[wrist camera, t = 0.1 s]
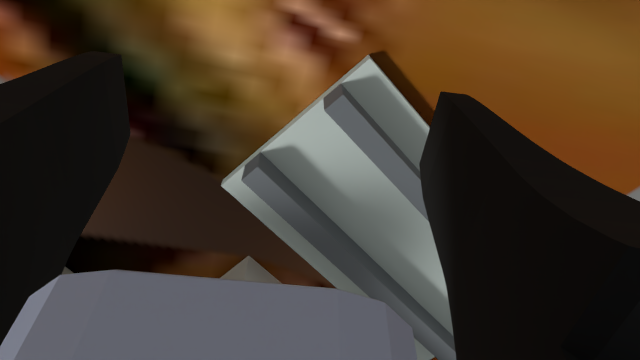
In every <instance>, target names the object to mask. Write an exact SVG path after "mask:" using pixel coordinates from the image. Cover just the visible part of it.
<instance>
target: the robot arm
mask: <svg viewBox="0 0 640 360" xmlns="http://www.w3.org/2000/svg"><path fill="white" fill-rule="evenodd" d="M129 137H130V125H129V117H128V109H127V100H126V92H125V84H124V75H123V67H122V58H121V55H120V54H111V53H103V52H94V51H92V52H87V53H83V54H80V55H77V56H74V57H71V58H68V59H65V60H63V61H60V62H58V63H55V64H52V65H50V66H47V67H45V68H42V69H40V70H37V71H34V72H32V73H29V74H27V75H24V76H22V77H19V78H16V79H13V80H11V81H8V82H5V83H2V84H0V360H417V354H416V348H415V342H414V336H413V330H412V327H411V326H410V325H408V324H407V323H406V322H405V321H404V320H403V319H402V318H401V317H400V316H399V315H398V314H397V313H396V312H394V311H393V310H392V309H391V308H390V307H389V306H388V305H387V304H386V303H384V302H382V301H379V300H376V299H372V298H369V297H365V296H361V295H358V294H354V293H351V292H347V291H343V290H340V289H336V288H324V287H313V286H301V285H290V284H278V283H267V282H255V281H244V280H232V279H221V278H209V277H197V276H186V275H174V274H163V273H151V272H140V271H128V270H117V269H115V270H105V271H94V272H84V273H74V274H64V275H62V272H63V270H64V268H65V265H66V263H67V260H68V258H69V256H70V254H71V252H72V250H73V248H74V246H75V244H76V242H77V240H78V238H79V236H80V235H81V233H82V231H83V229H84V228H85V226H86V224H87V222H88V221H89V219H90V217H91V215H92V214H93V212H94V210H95V208H96V207H97V205H98V203H99V201H100V200H101V198H102V196H103V194H104V193H105V191H106V189H107V187H108V185H109V183H110V182H111V180H112V178H113V176H114V174H115V173H116V171H117V169H118V167H119V164H120V162H121V159H122V157H123V154H124V151H125V148H126V145H127V143H128V140H129ZM419 167H420V178H421V187H422V195H423V201H424V205H425V209H426V212H427V216H428V220H429V224H430V227H431V231H432V234H433V238H434V242H435V245H436V249H437V253H438V256H439V260H440V263H441V267H442V271H443V275H444V279H445V284H446V288H447V294H448V301H449V307H450V314H451V321H452V328H453V336H454V344H455V352H456V360H640V201H637V200H635V199H632V198H631V197H629V196H626V195H624V194H622V193H620V192H618V191H616V190H614V189H612V188H610V187H608V186H605V185H603V184H602V183H600V182H598V181H596V180H594V179H592V178H590V177H589V176H587V175H585V174H583V173H581V172H580V171H578V170H576V169H574V168H572V167H571V166H569V165H567V164H566V163H564V162H563V161H561V160H559V159H558V158H556V157H555V156H553V155H552V154H550V153H549V152H547V151H546V150H544V149H543V148H541V147H540V146H538V145H537V144H535V143H534V142H533V141H531V140H530V139H528V138H527V137H526V136H524V135H523V134H521V133H520V132H519V131H517V130H516V129H515V128H513V127H512V126H511V125H509V124H508V123H507V122H505V121H504V120H503V119H501V118H500V117H499V116H497V115H496V114H495V113H494V112H492V111H491V110H490V109H488V108H487V107H485V106H484V105H483V104H481V103H480V102H478V101H477V100H475V99H474V98H472V97H470V96H468V95H466V94H457V93H449V92H440V96H439V99H438V102H437V106H436V109H435V112H434V116H433V119H432V123H431V126H430V129H429V133H428V136H427V139H426V143H425V146H424V150H423V153H422V156H421V160H420V163H419Z"/></svg>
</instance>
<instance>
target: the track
mask: <svg viewBox="0 0 640 360" xmlns="http://www.w3.org/2000/svg"><path fill="white" fill-rule="evenodd" d="M429 129H430V127H429V125H428V124H427V123H426V122H425V121H424V119H423V118H422V117H421V116H420V115H419V114H418V112H417V111H416V110H415V109H414V108H413V106H412V105H411V104H410V103H409V102H408V101H407V99H406V98H405V97H404V96H403V95H402V93H401V92H400V91H399V90H398V89H397V88H396V86H395V85H394V84H393V83H392V82H391V80H390V79H389V78H388V77H387V76H386V75H385V73H384V72H383V71H382V70H381V69H380V67H379V66H378V65H377V64H376V63H375V62H374V60H373V59H372V58H371V57H370V56H369V55H367V56H366V57H365V58H364V59H363V60H362V61H361V62H359V63H358V64H357V65H356V66H355V67H354V68H352V69H351V70H350V71H349V72H348V73H347V74H345V75H344V76H343V77H342V78H341V79H340V80H338V81H337V82H336V83H335V84H334V85H333V86H331V87H330V88H329V89H328V90H327V91H326V92H324V93H323V94H322V95H321V96H320V97H319V98H317V99H316V100H315V101H314V102H313V103H312V104H310V105H309V106H308V107H307V108H306V109H305V110H303V111H302V112H301V113H300V114H299V115H298V116H296V117H295V118H294V119H293V120H292V121H291V122H290V123H288V124H287V125H286V126H285V127H284V128H283V129H281V130H280V131H279V132H278V133H277V134H276V135H274V136H273V137H272V138H271V139H270V140H269V141H267V142H266V143H265V144H264V145H263V146H262V147H260V148H259V149H258V150H257V151H256V152H255V153H253V154H252V155H251V156H250V157H249V158H248V159H246V160H245V161H244V162H243V163H242V164H241V165H239V166H238V167H237V168H236V169H235V170H234V171H232V172H231V173H230V174H229V175H228V176H227V177H225V178H224V179H223V181H222V184H221V186H222V187H223V188H224V189H225V190H226V191H228V192H229V193H230V194H231V195H232V196H233V197H234V198H236V199H237V200H238V201H239V202H240V203H241V204H242V205H243V206H244V207H246V208H247V209H248V210H249V211H250V212H251V213H252V214H254V215H255V216H256V217H257V218H258V219H259V220H260V221H261V222H263V223H264V224H265V225H266V226H267V227H268V228H269V229H270V230H272V231H273V232H274V233H275V234H276V235H277V236H278V237H279V238H281V239H282V240H283V241H284V242H285V243H286V244H287V245H289V246H290V247H291V248H292V249H293V250H294V251H295V252H296V253H298V254H299V255H300V256H301V257H302V258H303V259H304V260H306V261H307V262H308V263H309V264H310V265H311V266H312V267H313V268H314V269H316V270H317V271H318V272H319V273H320V274H321V275H322V276H324V277H325V278H326V279H327V280H328V281H329V282H330V283H331V284H333V285H334V286H335V287H336V288H337V289H340V290H343V291H347V292H351V293H354V294H358V295H361V296H365V297H369V298H372V299H376V300H379V301H382V302H384V303H386V304H387V305H388V306H389V307H390V308H391V309H392V310H393V311H394V312H396V313H397V314H398V315H399V316H400V317H401V318H402V319H403V320H404V321H405V322H406V323H407V324H408V325H410V326H411V327H412V330H413V336H414V342H415V348H416V354H417V360H430V359H432V358H434V357H436V358H437V359H438V360H456V352H455V344H454V336H453V328H452V321H451V314H450V307H449V301H448V294H447V288H446V284H445V279H444V275H443V271H442V267H441V263H440V260H439V256H438V253H437V249H436V245H435V242H434V238H433V234H432V231H431V227H430V224H429V220H428V216H427V212H426V209H425V205H424V201H423V195H422V187H421V178H420V167H419V163H420V160H421V156H422V153H423V150H424V146H425V143H426V139H427V136H428V133H429Z"/></svg>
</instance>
